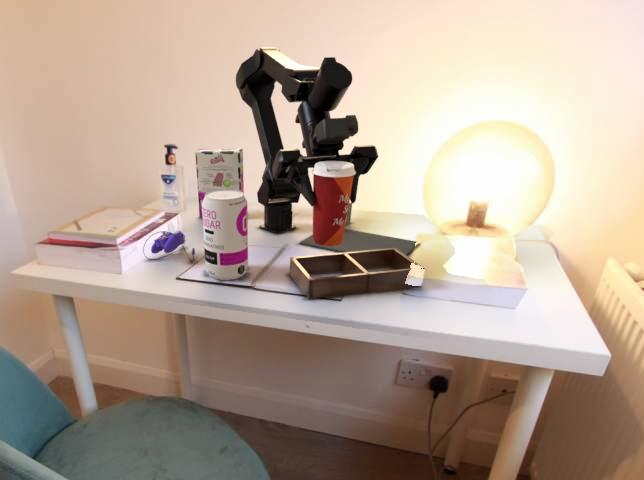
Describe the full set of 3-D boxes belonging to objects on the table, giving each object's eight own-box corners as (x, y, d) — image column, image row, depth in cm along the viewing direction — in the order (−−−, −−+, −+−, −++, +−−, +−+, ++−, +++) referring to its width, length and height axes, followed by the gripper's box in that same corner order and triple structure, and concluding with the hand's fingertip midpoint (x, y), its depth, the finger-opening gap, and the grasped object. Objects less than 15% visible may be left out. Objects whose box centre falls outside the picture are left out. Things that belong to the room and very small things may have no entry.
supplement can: (253, 267, 98) (253, 190, 90) (239, 283, 91) (238, 201, 83) (215, 263, 100) (211, 187, 92) (199, 278, 93) (194, 198, 86)
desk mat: (299, 244, 109) (299, 242, 109) (327, 227, 119) (327, 225, 119) (397, 263, 98) (397, 262, 98) (419, 243, 108) (419, 242, 108)
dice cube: (336, 218, 125) (337, 198, 123) (350, 223, 121) (352, 202, 119) (321, 221, 123) (322, 201, 120) (335, 226, 119) (336, 206, 117)
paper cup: (347, 249, 90) (356, 169, 83) (305, 246, 91) (310, 168, 84) (348, 235, 96) (356, 160, 89) (309, 232, 98) (314, 159, 90)
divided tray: (289, 274, 94) (290, 257, 92) (392, 264, 98) (395, 247, 96) (308, 299, 85) (309, 280, 83) (422, 286, 88) (425, 268, 87)
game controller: (132, 239, 102) (172, 220, 106) (149, 275, 105) (187, 255, 109) (149, 237, 93) (192, 217, 97) (167, 276, 96) (208, 255, 100)
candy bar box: (244, 214, 129) (243, 148, 121) (241, 219, 125) (240, 151, 117) (203, 213, 131) (199, 147, 123) (198, 218, 127) (194, 151, 118)
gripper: (278, 99, 83) (295, 182, 79) (381, 96, 86) (401, 175, 83) (265, 141, 94) (280, 215, 90) (357, 137, 97) (374, 208, 93)
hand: (333, 203), depth 89 cm, fingers closed on paper cup, 7 cm apart
